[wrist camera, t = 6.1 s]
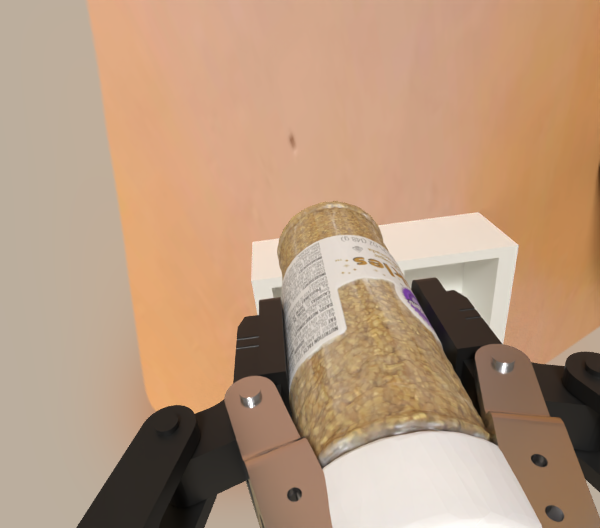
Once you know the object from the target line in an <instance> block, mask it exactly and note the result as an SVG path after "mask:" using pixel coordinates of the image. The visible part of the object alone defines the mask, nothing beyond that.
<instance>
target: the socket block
mask: <svg viewBox="0 0 600 528" xmlns="http://www.w3.org/2000/svg"><path fill="white" fill-rule="evenodd" d="M378 227H379V228H380V231H381V234H382V237H383V243H384V244H385V246H386V247H387V249H388V251H389V253H390V254H391V255H392V256H393V258H394V259H395V261H396V262H397V264H398V266H399V268H400V269H401V271H402V273H403V275H404V277H405V279H406V281H407V283H408V284H409V286H410V288H411V284H412V281H413V280H418V279H426V278H433V277H436V278H437V279H438V280H439V282H440V283H441V284H442V286H443V287H444V289H445V290H446V291H450V290H455V291H457V292H458V293H460V294H462V295H463V296H465V297H467V298H468V300H469V301H470V302H471V304H472V305H473V306H474V308H475V310H477V311H478V313H479V314H480V315H481V318H483V319H484V321H485V322H486V323H487V324H488V326H489V327H490V328H491V330H492V331H493V332H494V334H495V335H496V336H497V338H498V339H499V340H500V341H501V343H502V344H503V342H504V335H505V329H506V323H507V316H508V310H509V304H510V297H511V291H512V285H513V278H514V272H515V265H516V259H517V253H518V246H519V245H518V244H517V243H515V242H514V241H513V240H512V239H510V238H509V237H508V236H507V235H506V234H504V233H503V232H502V231H501V230H500V229H498V228H497V227H496V226H495V225H493V224H492V223H491V222H490V221H489V220H487V219H486V218H485V217H484V216H482V215H481V214H480V213H479V212H476V213H469V214H461V215H453V216H446V217H438V218H431V219H423V220H415V221H408V222H400V223H392V224H385V225H378ZM278 243H279V238H278V239H271V240H263V241H255V242H252V277H251V282H252V287H253V292H254V298H255V303H256V309H257V314H258V315H259V300H262V299H269V298H277V297H281V300H282V296H281V290H282V272H281V269H280V266H279V259H278V255H277V248H278Z"/></svg>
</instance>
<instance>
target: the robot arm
mask: <svg viewBox="0 0 600 528" xmlns="http://www.w3.org/2000/svg"><path fill="white" fill-rule="evenodd" d="M411 290H412V292H413V294H414V296H415V297H416V299H417V301H418V303H419V304H420V306H421V308H422V310H423V312H424V314H425V315H426V317H427V319H428V320H429V322H430V324H431V326H432V327H433V329H434V331H435V333H436V335H437V336H438V338H439V340H440V342H441V344H442V347H443V351H444V353H445V355H446V357H447V359H448V360H449V362H450V363H451V364H452V366H453V369H454V371H455V373H456V374H457V376H458V377H459V379H460V381H461V383H462V386H463V387H464V389H465V391H466V392H467V394H468V396H469V397H470V399H471V401H472V404H473V406H474V408H475V409H476V411H477V413H478V414H479V416H480V417H481V418H482V420H483V423H484V425H485V427H486V429H487V431H488V433H489V434H490V435H491V437H492V443H493V444H495V445H497V446H498V447H499V449H500V450H501V452H502V453H503V455H504V457H505V459H506V461H507V462H508V464H509V466H510V468H511V469H512V471H513V473H514V475H515V477H516V478H517V480H518V482H519V484H520V485H521V487H522V489H523V491H524V493H525V495H526V497H527V499H528V501H529V502H530V504H531V506H532V508H533V510H534V512H535V514H536V516H537V518H538V519H539V521H540V523H541V525H542V528H600V518H599V515H598V512H597V509H596V507H595V504H594V502H593V499H592V496H591V494H590V491H589V488H588V486H587V483H586V480H587V481H588V482H589V483H590V484H591V485H592V486H593V487H595V488H596V489H597V490H598V491H599V492H600V354H599V353H594V352H578V353H574V354H572V355H570V356H569V357H568V358H567V360H566V363H565V366H556V365H546V364H537V363H532V362H531V361H530V359H529V358H528V357H527V356H526V355H525V354H524V353H523V352H522V351H520V350H518V349H516V348H514V347H511V346H508V345H503V344H502V343H501V341H500V340H499V339H498V338H497V336H496V335H495V334H494V332H493V331H492V330H491V328H490V327H489V326H488V324H487V323H486V322H485V321H484V319H483V318H481V315H480V314H479V313H478V311H477V310H475V308H474V306H473V305H472V304H471V302H470V301H469V300H468V298H467V297H465V296H463V295H462V294H460V293H458V292H457V291H455V290H450V291H446V290H445V289H444V287H443V286H442V284H441V283H440V282H439V280H438V279H437V278H436V277H433V278H426V279H418V280H413V281H412V284H411ZM585 479H586V480H585ZM244 481H246V483H247V487H248V490H249V493H250V496H251V499H252V503H253V506H254V509H255V512H256V516H257V519H258V522H259V525H260V528H332V522H331V516H330V509H329V502H328V494H327V487H326V481H325V475H324V472H323V470H322V468H321V466H320V464H319V462H318V460H317V458H316V456H315V454H314V452H313V450H312V448H311V446H310V444H309V442H308V440H307V439H306V437H304V436H303V437H300V436H299V434H298V432H297V430H296V427H295V425H294V423H293V420H292V411H291V408H290V403H289V383H288V370H287V357H286V344H285V331H284V318H283V307H282V300H281V297H277V298H269V299H262V300H259V315H256V316H248V317H245V318H244V319H243V320H242V322H241V323H240V325H239V326H238V331H237V344H236V356H235V369H234V381H233V384H232V385H231V386H230V387H229V389H228V390H227V392H226V394H225V399H224V400H223V401H221V402H220V403H218V404H217V405H215V406H213V407H211V408H209V409H206V410H204V411H201V412H199V413H196V414H194V412H193V411H192V410H191V409H190V408H188V407H185V406H181V405H174V406H169V407H165V408H163V409H160V410H158V411H157V412H155V413H154V414H152V415H151V416H150V417H149V418H148V419H147V420H146V421H145V422H144V424H143V425H142V427H141V428H140V430H139V432H138V433H137V435H136V436H135V438H134V439H133V441H132V442H131V444H130V445H129V447H128V449H127V450H126V452H125V453H124V455H123V456H122V458H121V460H120V461H119V462H118V464H117V466H116V467H115V469H114V470H113V472H112V473H111V475H110V476H109V478H108V480H107V481H106V483H105V484H104V486H103V487H102V489H101V491H100V492H99V493H98V495H97V497H96V498H95V500H94V501H93V503H92V504H91V506H90V507H89V509H88V510H87V512H86V514H85V515H84V517H83V518H82V520H81V521H80V523H79V524H78V526H77V528H204V527H205V524H206V522H207V519H208V517H209V514H210V512H211V509H212V507H213V504H214V502H215V499H216V496H217V494H218V493H220V492H223V491H225V490H227V489H229V488H231V487H233V486H235V485H238V484H240V483H242V482H244Z"/></svg>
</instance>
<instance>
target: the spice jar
mask: <svg viewBox="0 0 600 528" xmlns="http://www.w3.org/2000/svg"><path fill="white" fill-rule="evenodd" d="M277 255H278V259H279V266H280V269H281V272H282V290H281V296H282V307H283V318H284V331H285V344H286V357H287V370H288V383H289V403H290V408H291V411H292V420H293V423H294V425H295V427H296V430H297V432H298V434H299V436H300V437H303V436H304V437H306V439H307V440H308V442H309V444H310V446H311V448H312V450H313V452H314V454H315V456H316V458H317V460H318V462H319V464H320V466H321V468H322V470H323V472H324V475H325V481H326V487H327V494H328V502H329V509H330V516H331V522H332V528H542V525H541V523H540V521H539V519H538V518H537V516H536V514H535V512H534V510H533V508H532V506H531V504H530V502H529V501H528V499H527V497H526V495H525V493H524V491H523V489H522V487H521V485H520V484H519V482H518V480H517V478H516V477H515V475H514V473H513V471H512V469H511V468H510V466H509V464H508V462H507V461H506V459H505V457H504V455H503V453H502V452H501V450H500V449H499V447H498V446H497V445H495V444H493V443H492V437H491V435H490V434H489V433H488V431H487V429H486V427H485V425H484V423H483V420H482V418H481V417H480V416H479V414H478V413H477V411H476V409H475V408H474V406H473V404H472V401H471V399H470V397H469V396H468V394H467V392H466V391H465V389H464V387H463V386H462V383H461V381H460V379H459V377H458V376H457V374H456V373H455V371H454V369H453V366H452V364H451V363H450V362H449V360H448V359H447V357H446V355H445V353H444V351H443V347H442V344H441V342H440V340H439V338H438V336H437V335H436V333H435V331H434V329H433V327H432V326H431V324H430V322H429V320H428V319H427V317H426V315H425V314H424V312H423V310H422V308H421V306H420V304H419V303H418V301H417V299H416V297H415V296H414V294H413V292H412V290H411V288H410V286H409V284H408V283H407V281H406V279H405V277H404V275H403V273H402V271H401V269H400V268H399V266H398V264H397V262H396V261H395V259H394V258H393V256H392V255H391V254H390V253H389V251H388V249H387V247H386V246H385V244H384V243H383V237H382V234H381V231H380V228H379V227H378V225H377V224H376V222H375V221H374V220H373V219H372V217H371V216H370V215H369V214H368V213H366V212H365V211H363V210H362V209H361V208H359V207H357V206H354V205H350V204H347V203H343V202H338V201H333V202H322V203H319V204H316V205H313V206H310V207H308V208H306V209H304V210H302V211H301V212H299V213H298V214H296V215H295V216H293V217H292V218H291V220H290V221H289V223H288V224H287V225H286V227H285V228H284V230H283V232H282V234H281V236H280V238H279V243H278V248H277Z"/></svg>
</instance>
